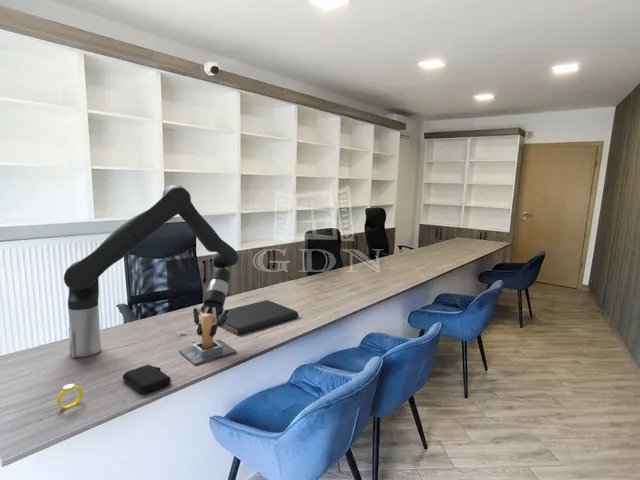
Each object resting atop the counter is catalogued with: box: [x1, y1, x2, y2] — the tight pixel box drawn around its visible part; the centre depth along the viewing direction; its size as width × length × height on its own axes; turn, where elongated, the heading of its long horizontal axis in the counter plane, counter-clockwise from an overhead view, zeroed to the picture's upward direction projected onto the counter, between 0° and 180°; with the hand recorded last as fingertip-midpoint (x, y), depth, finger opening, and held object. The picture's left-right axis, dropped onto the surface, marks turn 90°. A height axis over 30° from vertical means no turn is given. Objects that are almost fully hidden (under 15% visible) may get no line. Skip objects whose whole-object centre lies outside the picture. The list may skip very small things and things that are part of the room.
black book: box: [218, 299, 299, 337], centre depth 176 cm, size 33×4×24 cm
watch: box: [56, 383, 84, 410], centre depth 104 cm, size 6×3×6 cm, turn 148°
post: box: [200, 313, 214, 349], centre depth 139 cm, size 4×4×12 cm
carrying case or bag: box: [122, 364, 172, 395], centre depth 119 cm, size 11×3×15 cm
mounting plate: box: [178, 338, 238, 366], centre depth 140 cm, size 16×14×3 cm
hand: (205, 335), depth 137 cm, fingers closed on post, 4 cm apart
